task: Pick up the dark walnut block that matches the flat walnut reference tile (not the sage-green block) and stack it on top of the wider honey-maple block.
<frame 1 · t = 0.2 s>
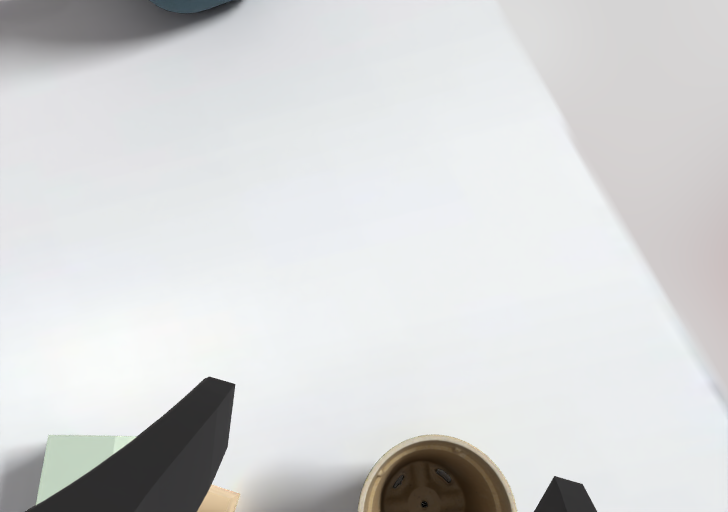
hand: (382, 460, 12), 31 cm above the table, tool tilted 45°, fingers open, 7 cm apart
sage block: (108, 467, 42), on the table
flower pot: (421, 503, 41), on the table
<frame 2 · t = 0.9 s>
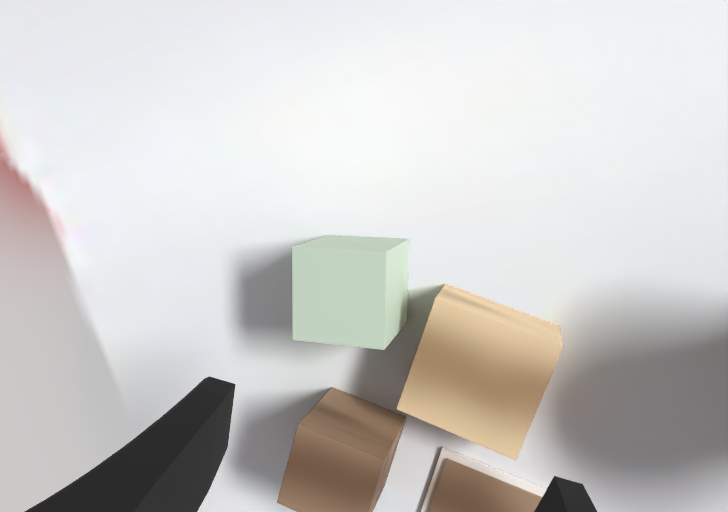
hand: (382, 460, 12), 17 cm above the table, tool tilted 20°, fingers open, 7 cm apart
sage block: (367, 277, 30), on the table
maple block: (481, 355, 29), on the table
walnut block: (358, 436, 32), on the table
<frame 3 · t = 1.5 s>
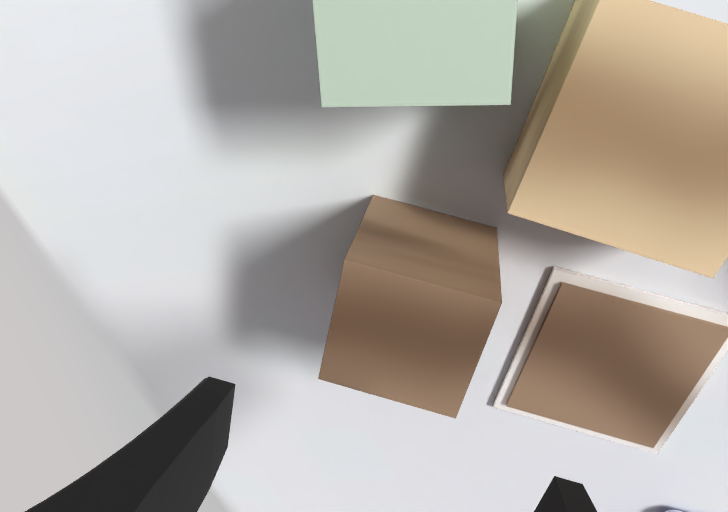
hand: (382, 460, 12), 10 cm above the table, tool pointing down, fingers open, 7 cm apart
maple block: (631, 114, 17), on the table
reference tile: (608, 364, 21), on the table
walnut block: (418, 263, 21), on the table
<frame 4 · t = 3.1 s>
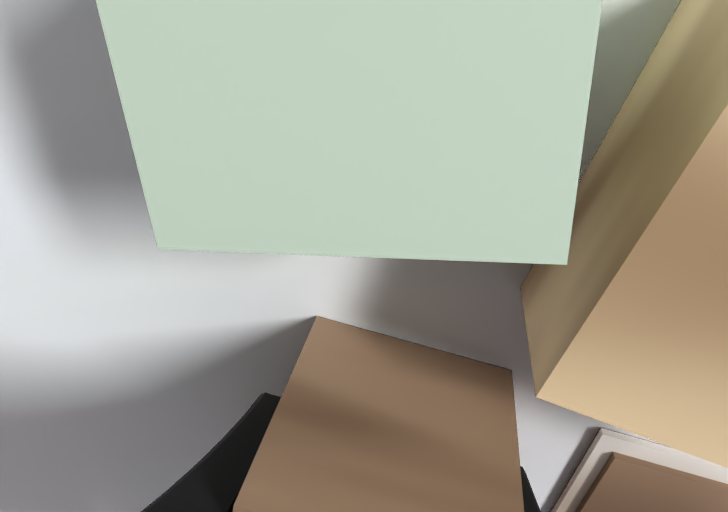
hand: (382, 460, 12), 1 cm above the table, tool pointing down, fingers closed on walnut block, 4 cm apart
walnut block: (390, 414, 14), on the table, touching gripper
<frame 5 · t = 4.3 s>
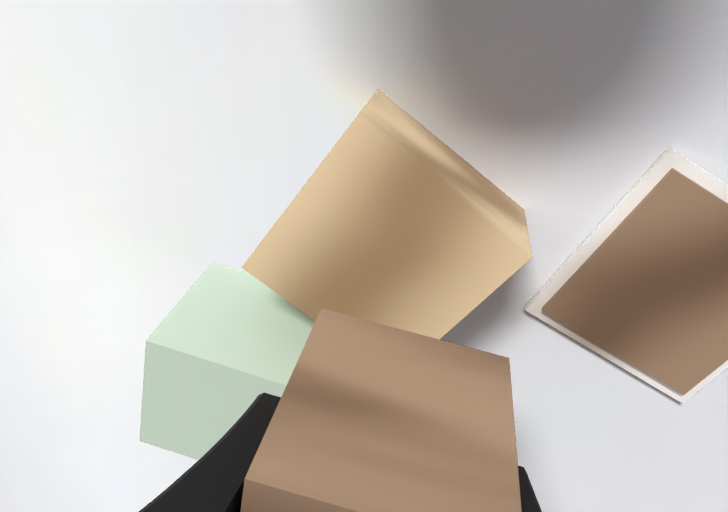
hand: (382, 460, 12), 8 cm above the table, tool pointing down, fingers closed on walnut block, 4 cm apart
sage block: (261, 325, 22), on the table
maple block: (394, 213, 19), on the table
reference tile: (675, 287, 18), on the table
walnut block: (393, 402, 14), point 6 cm above the table, touching gripper
when the fingers open (6 cm above the table, at t = 5.3 s): walnut block stays where it is, resting on maple block.
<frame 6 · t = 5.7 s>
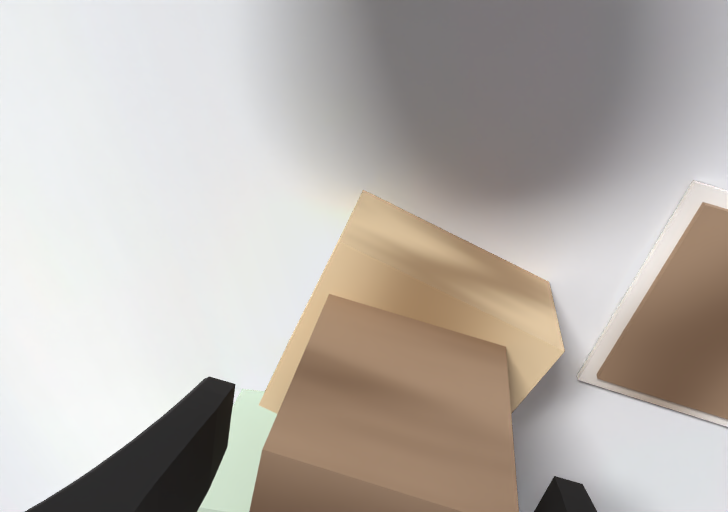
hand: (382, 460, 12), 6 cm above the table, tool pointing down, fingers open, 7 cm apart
sage block: (306, 440, 21), on the table
maple block: (411, 307, 18), on the table, touching walnut block
walnut block: (393, 386, 15), point 3 cm above the table, touching maple block
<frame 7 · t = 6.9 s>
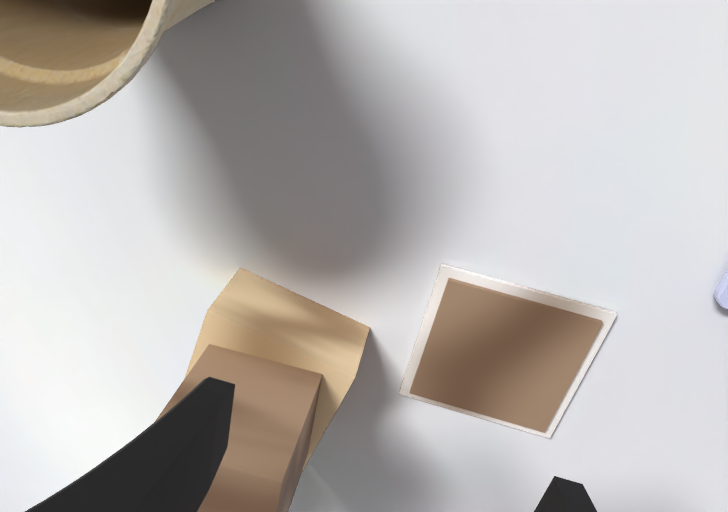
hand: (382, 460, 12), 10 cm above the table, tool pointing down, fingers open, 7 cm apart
maple block: (285, 343, 25), on the table, touching walnut block
reference tile: (498, 354, 23), on the table
walnut block: (260, 401, 22), point 3 cm above the table, touching maple block
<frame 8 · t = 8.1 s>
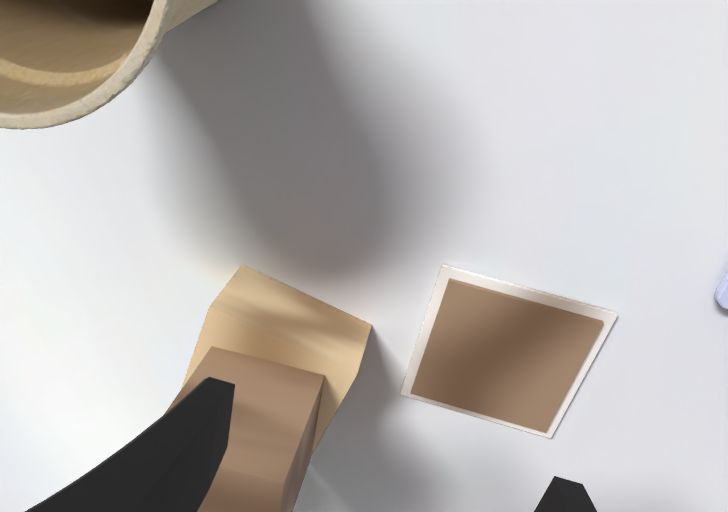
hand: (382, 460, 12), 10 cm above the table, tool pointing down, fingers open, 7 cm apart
maple block: (286, 341, 25), on the table
reference tile: (499, 355, 23), on the table
walnut block: (263, 403, 22), point 3 cm above the table
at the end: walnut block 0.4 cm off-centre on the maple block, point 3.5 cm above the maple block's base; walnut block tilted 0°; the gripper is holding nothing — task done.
